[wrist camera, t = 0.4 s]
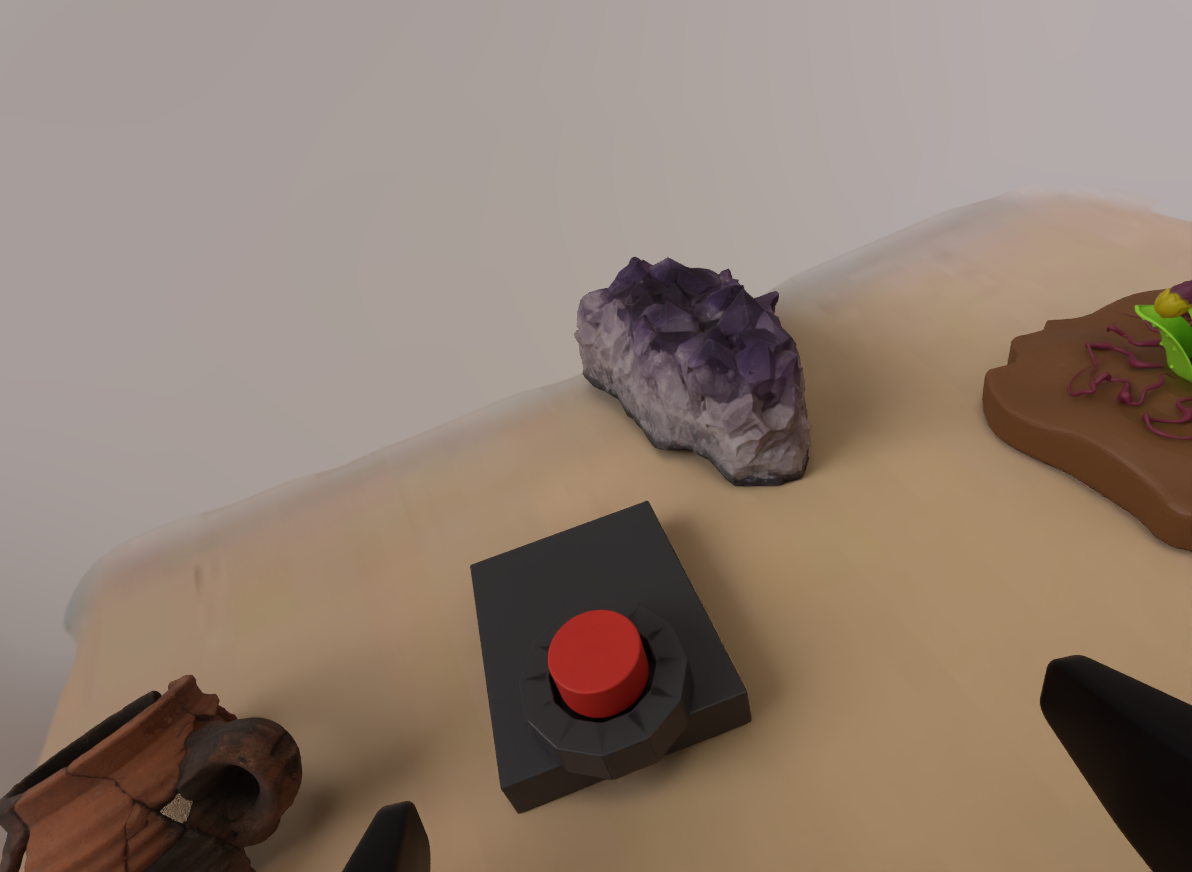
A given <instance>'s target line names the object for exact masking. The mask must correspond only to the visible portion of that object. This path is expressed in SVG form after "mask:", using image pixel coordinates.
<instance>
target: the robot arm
mask: <svg viewBox="0 0 1192 872" xmlns="http://www.w3.org/2000/svg"><path fill="white" fill-rule="evenodd" d="M1040 706H1041V710H1042V713H1043V715H1044V717H1045V719H1046V720H1047V722H1048V723H1049V725H1050V726H1051V728H1052V730H1053V731H1054V733H1055V734H1056V736H1057V737H1058V739H1059V740H1060V742H1061V743H1062V745H1063V746H1064V748H1065V749H1066V751H1067V752H1068V754H1069V755H1070V757H1071V758H1072V760H1073V761H1074V763H1075V764H1076V766H1077V767H1078V769H1079V770H1080V772H1081V773H1082V775H1083V776H1084V778H1085V779H1086V781H1087V782H1088V784H1089V785H1090V787H1091V788H1092V790H1093V791H1094V793H1095V794H1096V796H1097V797H1098V799H1099V800H1100V802H1101V803H1102V805H1103V806H1104V808H1105V809H1106V811H1107V812H1108V814H1109V815H1110V816H1111V818H1112V819H1113V821H1114V822H1115V823H1116V825H1117V826H1118V828H1119V829H1120V830H1121V832H1122V833H1123V834H1124V836H1125V837H1126V838H1127V840H1128V841H1129V842H1130V843H1131V845H1132V846H1133V847H1134V849H1135V850H1136V851H1137V852H1138V854H1139V855H1140V856H1141V857H1142V859H1143V860H1144V861H1145V863H1146V864H1147V865H1148V866H1149V868H1150V869H1151V870H1152V871H1153V872H1192V705H1190V704H1188V703H1186V702H1183V701H1181V700H1179V699H1177V698H1175V697H1173V696H1170V695H1168V694H1166V693H1164V692H1162V691H1160V690H1157V689H1155V688H1153V687H1151V686H1149V685H1147V684H1144V683H1142V682H1140V681H1138V680H1136V679H1134V678H1131V677H1129V676H1127V675H1125V674H1123V673H1121V672H1118V671H1116V670H1114V669H1112V668H1110V667H1108V666H1105V665H1103V664H1101V663H1099V662H1097V661H1095V660H1092V659H1090V658H1088V657H1085V656H1082V655H1072V656H1068V657H1063V658H1058V659H1054V660H1052V661H1051V662H1050V663H1049V664H1048V666H1047V669H1046V674H1045V678H1044V683H1043V687H1042V692H1041V696H1040ZM342 872H430V845H429V840H428V837H427V834H426V832H425V829H424V827H423V824H422V822H421V819H420V817H419V814H418V812H417V809H416V807H415V805H414V804H413V803H412V802H410V801H405V802H400V803H395V804H391V805H386V806H384V807H382V808H381V809H380V810H379V811H378V812H377V814H376V815H375V817H374V818H373V820H372V822H371V824H370V825H369V827H368V829H367V830H366V832H365V834H364V835H363V837H362V839H361V840H360V842H359V844H358V846H357V847H356V849H355V851H354V852H353V854H352V856H351V857H350V859H349V861H348V863H347V864H346V866H345V868H344V869H343V871H342Z"/></svg>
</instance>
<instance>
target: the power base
mask: <svg viewBox="0 0 1192 872" xmlns="http://www.w3.org/2000/svg"><path fill="white" fill-rule="evenodd" d="M470 568H471V576H472V583H473V590H474V597H475V605H476V612H477V619H478V626H479V634H480V641H481V648H482V656H483V663H484V670H485V677H486V685H487V692H488V699H489V707H490V714H491V721H492V728H493V736H494V743H495V750H496V757H497V765H498V772H499V779H500V787H501V789H502V791H503V792H504V794H505V795H506V797H507V798H508V800H509V801H510V802H511V804H512V805H513V807H514V808H515V810H516V811H517V812H518V813H521V812H524V811H526V810H529V809H531V808H534V807H536V806H539V805H541V804H544V803H546V802H549V801H551V800H554V799H556V798H559V797H561V796H564V795H566V794H569V793H571V792H574V791H576V790H579V789H581V788H584V787H587V786H589V785H592V784H594V783H597V782H599V781H602V780H604V779H611V780H612V779H617V778H620V777H622V776H625V775H627V774H630V773H632V772H635V771H637V770H640V769H642V768H645V767H647V766H650V765H652V764H655V763H657V762H658V761H659V760H660V759H661V758H662V757H663V756H665V755H667V754H670V753H672V752H675V751H677V750H680V749H682V748H685V747H687V746H690V745H692V744H695V743H697V742H700V741H702V740H705V739H707V738H710V737H712V736H715V735H717V734H720V733H722V732H725V731H727V730H730V729H733V728H735V727H738V726H740V725H743V724H745V723H748V722H750V721H751V720H752V719H751V712H750V706H749V700H748V694H747V690H746V688H745V686H744V685H743V683H742V681H741V679H740V677H739V675H738V673H737V671H736V669H735V667H734V665H733V663H732V661H731V659H730V658H729V656H728V654H727V652H726V650H725V648H724V646H723V644H722V642H721V640H720V638H719V636H718V634H717V632H716V631H715V629H714V627H713V625H712V623H711V621H710V619H709V617H708V615H707V613H706V611H705V609H704V607H703V605H702V604H701V602H700V600H699V598H698V596H697V594H696V592H695V590H694V588H693V586H692V584H691V582H690V580H689V578H688V577H687V575H686V573H685V571H684V569H683V567H682V565H681V563H680V561H679V559H678V557H677V555H676V553H675V551H674V550H673V548H672V546H671V544H670V542H669V540H668V538H667V536H666V534H665V532H664V530H663V528H662V526H661V524H660V523H659V521H658V519H657V517H656V515H655V513H654V511H653V509H652V507H651V505H650V503H649V502H648V501H645V502H642V503H640V504H637V505H634V506H631V507H629V508H626V509H623V510H620V511H618V512H615V513H612V514H610V515H607V516H604V517H601V518H599V519H596V520H593V521H590V522H588V523H585V524H582V525H579V526H577V527H574V528H571V529H568V530H566V531H563V532H560V533H557V534H555V535H552V536H549V537H546V538H544V539H541V540H538V541H535V542H533V543H530V544H527V545H524V546H522V547H519V548H516V549H513V550H511V551H508V552H505V553H502V554H500V555H497V556H494V557H491V558H489V559H486V560H483V561H480V562H478V563H475V564H472V565H471V566H470ZM592 610H610V611H614V612H617V613H619V614H622V615H623V616H625V617H626V618H628V619H629V620H630V621H631V622H632V623H633V624H634V625H635V627H636V628H637V630H638V632H639V635H640V638H641V641H642V645H643V648H644V651H645V654H646V657H647V660H648V666H649V674H648V680H647V683H646V686H645V688H644V690H643V692H642V694H641V695H640V697H639V698H638V699H637V700H636V701H635V702H634V703H633V705H631V706H630V707H629V708H627V709H626V710H624V711H623V712H621V713H618V714H616V715H613V716H610V717H605V718H592V717H587V716H584V715H581V714H579V713H577V712H575V711H574V710H572V709H571V708H570V707H569V706H568V705H567V704H566V703H565V701H564V700H563V698H562V696H561V694H560V692H559V690H558V688H557V685H556V683H555V681H554V679H553V677H552V675H551V673H550V670H549V667H548V651H549V647H550V644H551V642H552V639H553V638H554V636H555V634H556V633H557V632H558V630H559V629H560V628H561V627H562V626H563V625H564V624H565V623H566V622H567V621H569V620H570V619H572V618H573V617H575V616H577V615H579V614H582V613H585V612H588V611H592Z"/></svg>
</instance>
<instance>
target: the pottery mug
mask: <svg viewBox="0 0 1192 872" xmlns="http://www.w3.org/2000/svg"><path fill="white" fill-rule="evenodd" d="M168 689H169V690H168V691H167V692H166V693H165V694H163V695H161V694H160V693H159V692H157V691H151V692H149V693H147V694H146V695H144V696H142V697H140V698H138V699H137V700H135V701H134V702H132V703H130V704H129V705H127V706H125V707H124V708H123V709H122V710H121V711H119V712H117V713H115V714H114V715H112V716H110V717H108V718H107V719H105V720H104V721H103V722H101V723H100V724H98V725H97V726H95V727H94V728H92V729H91V730H89V731H88V732H87V733H85V734H84V735H83V736H81V737H80V738H78V739H77V740H75V741H74V742H72V743H71V744H70V745H68V746H67V747H66V748H64V749H62V750H61V751H60V752H58V753H57V754H56V755H54V756H53V757H51V758H50V759H49V760H47V761H46V762H45V763H44V764H42V765H41V766H39V767H38V768H37V769H36V770H34V771H33V772H32V773H30V774H29V775H28V776H27V777H25V778H24V779H23V780H22V781H21V782H20V783H18V784H16V785H15V786H14V787H13V788H12V789H11V790H10V791H9V792H8V793H7V794H6V795H5V796H4V797H3V798H1V799H0V825H1V826H2V827H3V828H4V829H5V830H6V831H7V833H8V834H7V839H6V842H5V845H4V848H3V853H2V860H1V864H0V872H19V869H20V867H21V862H22V858H23V855H24V853H25V851H26V856H27V859H26V863H25V872H256V871H255V870H254V869H253V868H252V867H251V866H250V860H249V858H248V857H247V856H246V854H245V851H244V847H246V846H252V845H255V844H258V843H261V842H263V841H265V840H266V839H267V838H268V837H270V836H271V835H272V834H273V833H274V832H275V831H276V829H277V827H278V825H279V822H280V818H281V816H282V815H283V814H284V812H285V811H286V810H287V809H288V808H289V807H290V806H291V805H292V804H293V802H294V799H295V797H296V795H297V793H298V790H299V788H300V785H301V779H302V765H301V756H300V752H299V748H298V746H297V744H296V742H295V740H294V739H293V738H292V736H291V735H290V734H289V732H288V731H286V730H285V729H284V728H283V727H282V726H281V725H279V724H278V723H276V722H274V721H271V720H268V719H264V718H258V717H257V718H245V719H238V720H237V717H236V715H234V714H231V713H229V712H228V711H226V709H225V708H223V707H221V706H219V705H218V704H219V698H218V696H217V695H216V694H205V693H202V692H201V690H200V689H199V688H198V686H197V684H196V679H195V678H194V676H193V675H186V676H183V677H181V678H179V679H178V680H175V681H172V682H170V683H169V685H168ZM178 793H180V794H181V796H182V797H183V798H185V799H186V800H190V801H193V803H192V806H191V810H190V814H189V816H188V819H187V821H186V822H184V823H180V822H177V821H174V820H172V819H171V818H169V817H167V816H164V815H163V814H162V813H161V812H160V811H161V810H162V809H163V808H164V807H165V806H166V805H167V804H169V803H170V802H171V801H172V800H173V799H174V798H175V796H176V795H177V794H178Z"/></svg>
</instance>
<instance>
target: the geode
mask: <svg viewBox="0 0 1192 872" xmlns="http://www.w3.org/2000/svg"><path fill="white" fill-rule="evenodd" d="M778 298H779V293H778V292H777V291H775V292H771V293H768V294H766V295H763V296H760V297H757V298H753V297H752V296H750V295H749V294H748V293H747V292H746V291H745V289H744V286H743V285H740V284H739V283H738V280H736V279H733V278H732V275H731V272H730V270H729V269H726V270H724V271H722V272H721V273H720V274H717V273H715V272H713V271H711V270H709V269H703V268H689V267H685V266H683V265H682V264H680V263H678V262H676V261H674V260H672V259H670V258H668V257H667V258H666V259H664V260H663V261H661V262H659V263H657V264H655V265H651V264H649V263H648V262H646V261H644V260H640V259H639V258H637V257H633V258H631V260H630V262H629V264H628V265H627V266H626V267H625V268H624V269H622V270H621V271H620V272H619V273H618V275H617V277H616V278H615V280H614V282H613V283H612V284H611V285H610V287H609V288H605V289H599V290H596V291H593V292H589V293H588V294H586V295H585V296H584V297H583V298H582V299H581V301H580V304H579V308H578V312H577V327H578V329H579V330H577V331H576V332H575V333H574V336H575V338H576V340H577V342H578V343H579V350H580V356H581V359H582V363H583V375H584V377H585V378H586V379H587V380H588V381H589V382H590V383H591V384H592V385H593V386H594V387H596V388H598V389H600V390H604V391H606V392H607V393H609V394H610V395H612V396H614V397H616V398H618V399H619V400H620V402H621V404H622V406H623V408H624V410H625V412H626V414H627V416H629V417H631V418H633V419H634V420H635V422H636V424H637V425H638V426H639V427H640V428H641V429H642V430H643V431H644V432H645V434H646V436H647V438H648V440H649V441H650V442H651V443H652V444H653V445H654V446H655V448H658V449H661V450H676V451H679V450H683V449H687V450H690V451H692V452H694V453H696V454H698V455H700V456H702V457H704V458H706V459H708V460H710V461H711V463H712V464H713V465H714V466H715V467H716V468H717V469H718V471H719V472H720V473H721V474H722V475H723V476H724V477H725V478H726V479H727V480H728V481H729V482H731V483H732V484H733V485H735V486H767V485H782V484H783V483H784V482H786V481H790V480H794V479H799V478H800V477H801V476H802V475H803V473H804V472H805V470H806V466H807V463H808V460H809V456H808V450H809V446H810V439H809V436H808V433H809V431H810V429H811V427H812V426H811V424H810V423H809V421H808V420H807V409H806V403H805V394H804V392H805V380H804V376H803V372H802V369H803V368H802V367H801V364H800V356H799V354H798V351H797V348H796V343H795V341H794V340H793V338H792V337H791V336H790V335H789V334H788V333H787V332H786V331H785V330H784V329H783V328H782V327H781V324H780V321H779V317H777V316H776V315H774V312H775V305H776V303H777V302H778Z"/></svg>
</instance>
